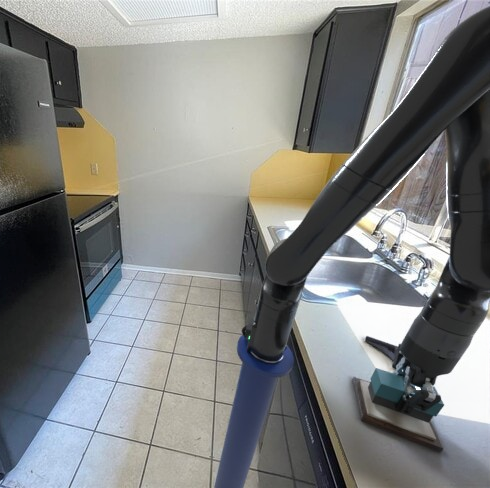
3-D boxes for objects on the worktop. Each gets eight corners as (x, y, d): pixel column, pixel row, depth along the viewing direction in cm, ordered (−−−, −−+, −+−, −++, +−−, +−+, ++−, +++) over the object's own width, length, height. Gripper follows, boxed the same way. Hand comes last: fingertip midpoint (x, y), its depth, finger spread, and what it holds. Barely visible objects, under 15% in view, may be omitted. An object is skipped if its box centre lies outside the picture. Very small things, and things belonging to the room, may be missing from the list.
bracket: (368, 374, 65) (373, 366, 64) (364, 338, 77) (368, 331, 76) (446, 406, 58) (452, 398, 57) (428, 361, 70) (433, 354, 69)
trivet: (360, 420, 54) (363, 415, 54) (352, 379, 64) (354, 374, 63) (441, 452, 50) (445, 447, 49) (418, 403, 59) (422, 397, 58)
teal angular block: (370, 402, 56) (381, 383, 53) (366, 386, 59) (375, 367, 57) (430, 424, 52) (444, 405, 49) (421, 405, 56) (434, 386, 53)
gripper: (397, 312, 56) (369, 369, 63) (424, 361, 44) (385, 424, 51) (443, 324, 53) (407, 381, 60) (485, 379, 41) (434, 443, 48)
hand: (397, 400), depth 55 cm, fingers closed on teal angular block, 4 cm apart
